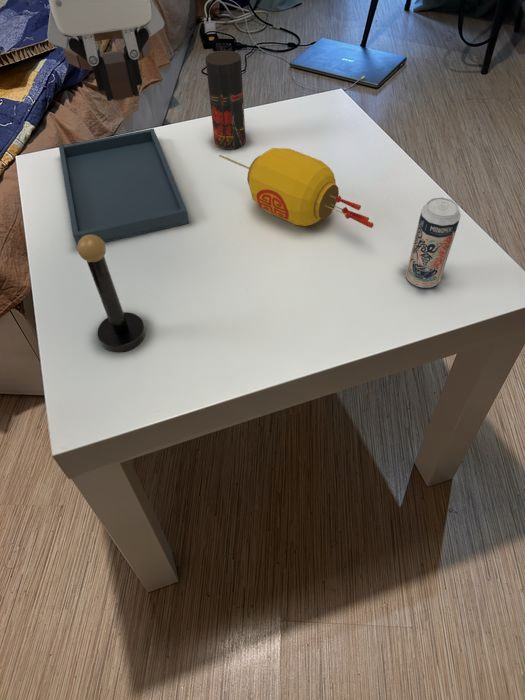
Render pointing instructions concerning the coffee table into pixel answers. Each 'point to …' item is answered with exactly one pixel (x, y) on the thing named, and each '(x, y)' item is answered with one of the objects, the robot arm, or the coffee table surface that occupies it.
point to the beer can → (432, 242)
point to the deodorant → (226, 98)
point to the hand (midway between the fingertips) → (121, 92)
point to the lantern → (296, 187)
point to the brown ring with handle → (111, 64)
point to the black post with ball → (110, 301)
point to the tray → (120, 187)
